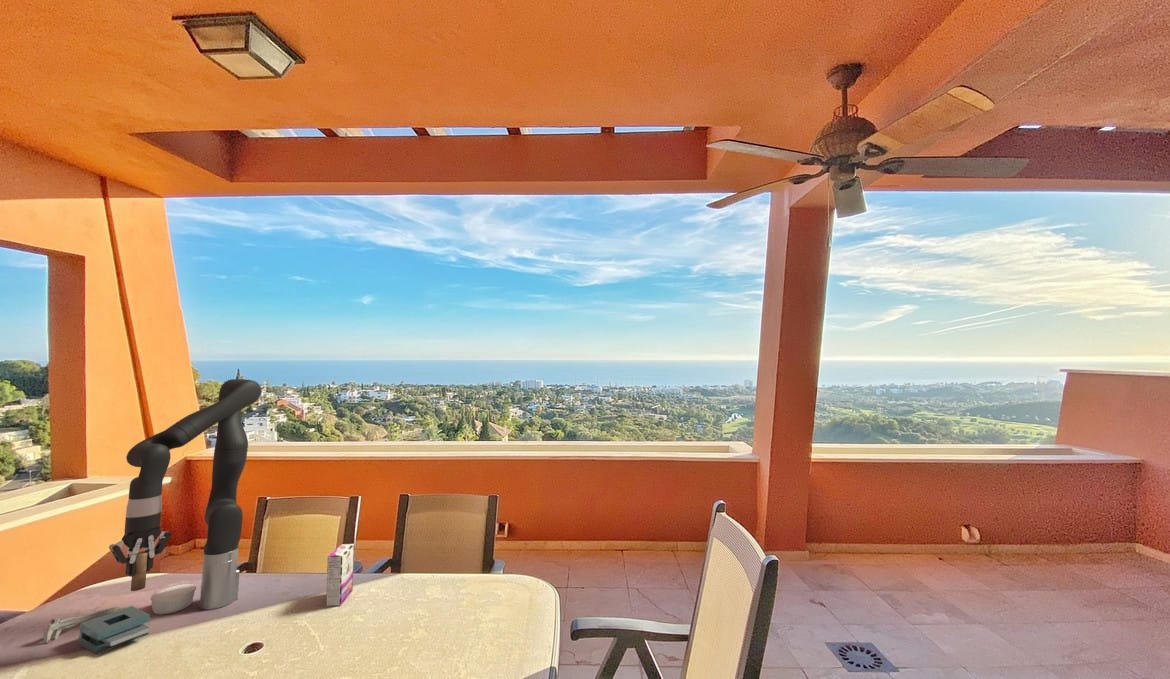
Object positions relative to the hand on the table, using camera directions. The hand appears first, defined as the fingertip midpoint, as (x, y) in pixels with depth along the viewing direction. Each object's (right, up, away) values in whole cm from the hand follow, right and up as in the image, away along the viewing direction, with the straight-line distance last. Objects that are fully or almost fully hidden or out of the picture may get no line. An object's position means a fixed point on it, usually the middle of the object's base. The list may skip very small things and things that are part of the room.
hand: (138, 573), depth 130 cm
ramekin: (-7, -21, +18) cm, 29 cm away
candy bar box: (+45, -22, +24) cm, 55 cm away
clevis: (-6, -19, -1) cm, 20 cm away
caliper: (-24, -20, +8) cm, 32 cm away
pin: (0, -4, 0) cm, 4 cm away
